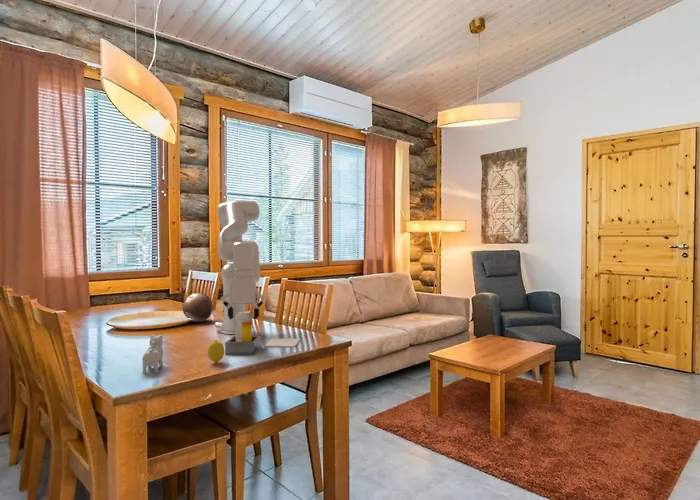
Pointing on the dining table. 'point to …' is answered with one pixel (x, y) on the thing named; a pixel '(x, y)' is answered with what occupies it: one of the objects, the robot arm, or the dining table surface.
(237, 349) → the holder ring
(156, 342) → the white dog figurine
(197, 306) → the wooden sphere
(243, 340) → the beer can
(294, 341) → the tile pad
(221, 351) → the lemon
